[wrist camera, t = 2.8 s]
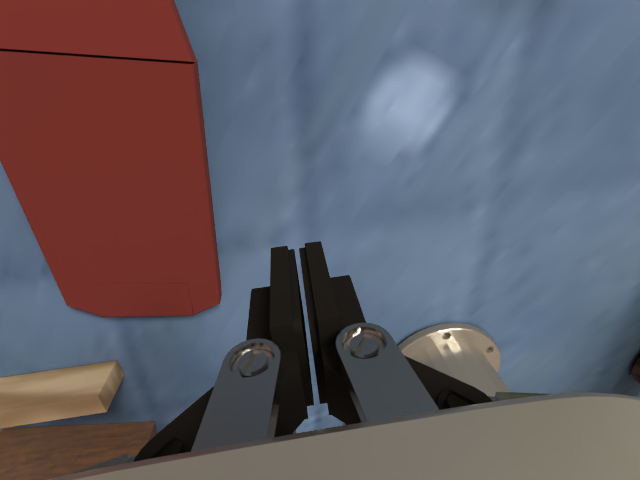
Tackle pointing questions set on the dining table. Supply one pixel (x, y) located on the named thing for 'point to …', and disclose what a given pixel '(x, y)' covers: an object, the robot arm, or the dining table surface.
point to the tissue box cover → (67, 448)
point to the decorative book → (636, 370)
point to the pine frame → (58, 393)
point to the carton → (110, 152)
